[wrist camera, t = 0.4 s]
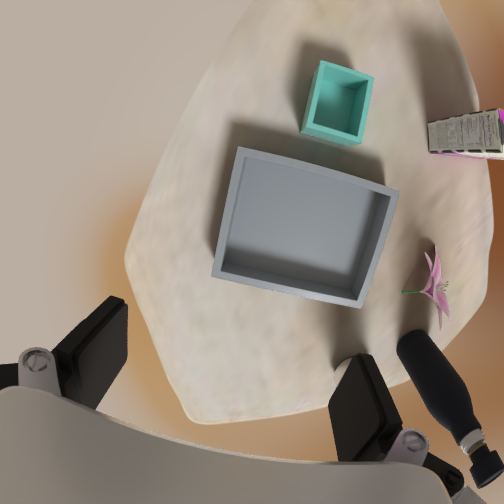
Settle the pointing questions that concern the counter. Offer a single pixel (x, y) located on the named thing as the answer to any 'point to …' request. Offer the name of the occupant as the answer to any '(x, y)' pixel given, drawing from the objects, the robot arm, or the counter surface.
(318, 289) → the gray crate
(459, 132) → the candy bar box
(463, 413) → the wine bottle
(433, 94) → the counter surface
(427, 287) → the lily
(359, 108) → the teal crate
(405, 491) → the robot arm
